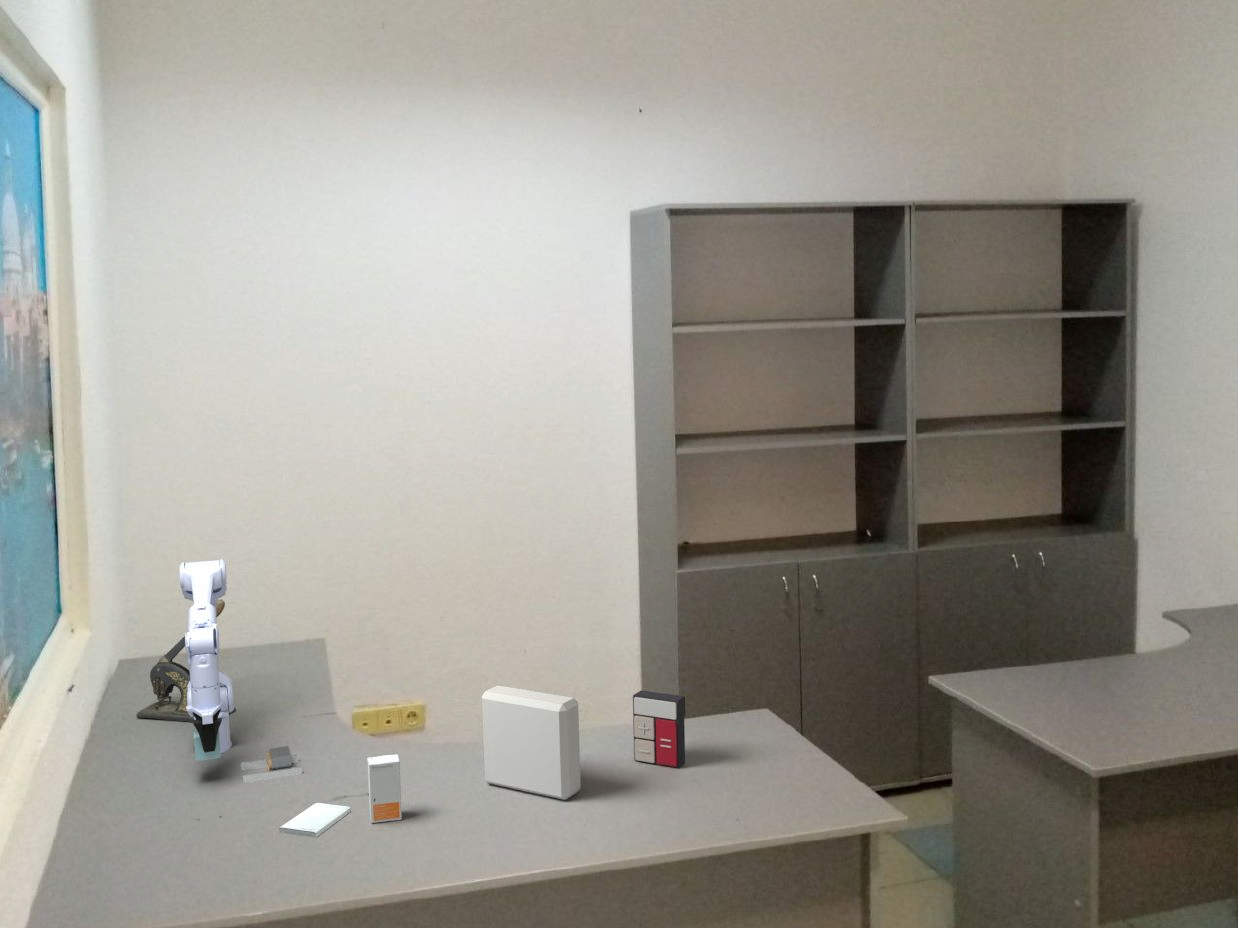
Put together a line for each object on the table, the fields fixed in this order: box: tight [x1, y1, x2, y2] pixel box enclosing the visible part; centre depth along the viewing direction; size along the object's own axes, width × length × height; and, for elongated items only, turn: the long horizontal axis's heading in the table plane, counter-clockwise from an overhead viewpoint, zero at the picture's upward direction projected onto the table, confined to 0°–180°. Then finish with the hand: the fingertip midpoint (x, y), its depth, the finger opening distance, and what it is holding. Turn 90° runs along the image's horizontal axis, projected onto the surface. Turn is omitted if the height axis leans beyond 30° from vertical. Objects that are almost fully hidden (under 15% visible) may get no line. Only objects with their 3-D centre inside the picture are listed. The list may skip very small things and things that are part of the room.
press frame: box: [240, 753, 303, 783], centre depth 252 cm, size 12×22×3 cm, turn 111°
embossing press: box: [136, 598, 237, 723], centre depth 295 cm, size 11×24×30 cm, turn 74°
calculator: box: [632, 689, 686, 769], centre depth 256 cm, size 11×4×15 cm, turn 62°
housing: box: [193, 729, 222, 762], centre depth 249 cm, size 5×5×6 cm
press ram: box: [266, 745, 293, 771], centre depth 254 cm, size 6×5×4 cm
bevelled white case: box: [481, 685, 582, 801], centre depth 243 cm, size 21×8×20 cm, turn 59°
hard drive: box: [278, 802, 352, 838], centre depth 230 cm, size 2×8×12 cm
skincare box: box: [366, 754, 402, 824], centre depth 230 cm, size 6×4×12 cm
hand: (209, 746), depth 249 cm, fingers closed on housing, 5 cm apart
